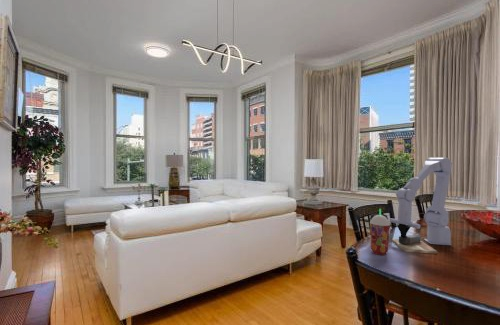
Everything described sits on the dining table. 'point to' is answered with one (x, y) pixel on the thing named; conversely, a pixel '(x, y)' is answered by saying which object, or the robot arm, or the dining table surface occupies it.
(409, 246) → the board
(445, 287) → the dining table surface
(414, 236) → the leg
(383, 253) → the smoothie
